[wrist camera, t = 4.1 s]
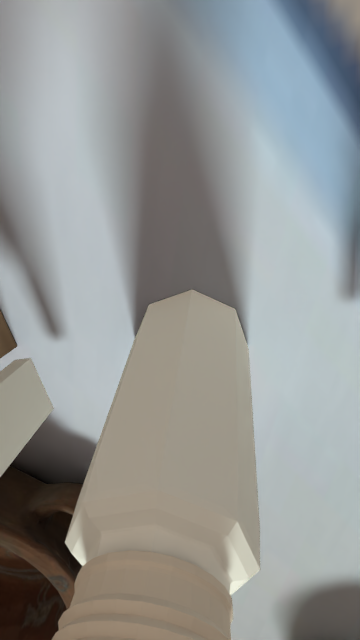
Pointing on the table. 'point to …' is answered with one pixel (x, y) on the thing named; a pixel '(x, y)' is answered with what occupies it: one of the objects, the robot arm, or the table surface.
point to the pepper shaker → (170, 485)
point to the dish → (35, 555)
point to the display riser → (5, 338)
